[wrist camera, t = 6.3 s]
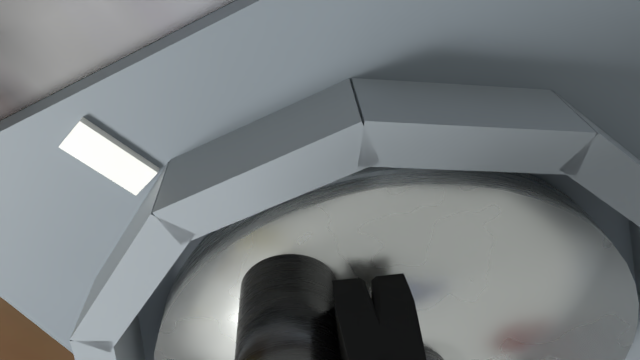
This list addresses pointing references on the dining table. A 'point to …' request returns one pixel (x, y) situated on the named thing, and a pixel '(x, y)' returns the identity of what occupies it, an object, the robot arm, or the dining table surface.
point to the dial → (409, 272)
